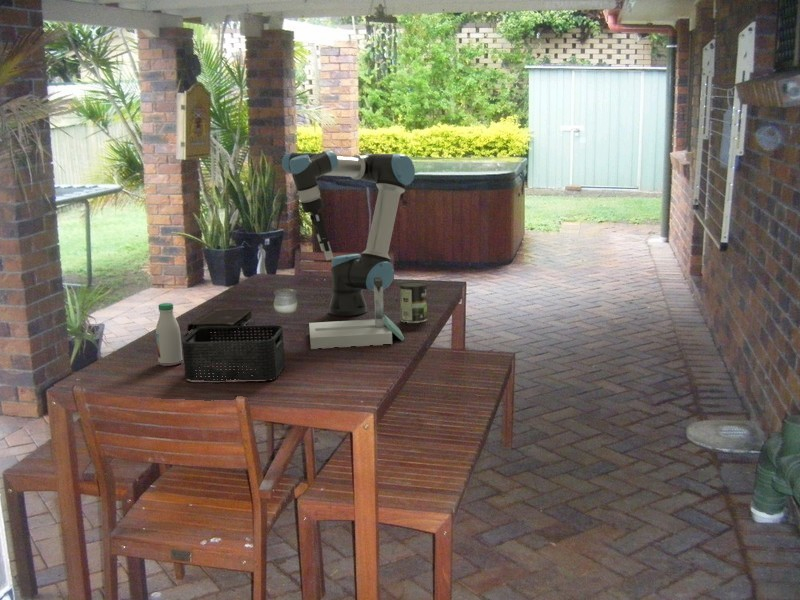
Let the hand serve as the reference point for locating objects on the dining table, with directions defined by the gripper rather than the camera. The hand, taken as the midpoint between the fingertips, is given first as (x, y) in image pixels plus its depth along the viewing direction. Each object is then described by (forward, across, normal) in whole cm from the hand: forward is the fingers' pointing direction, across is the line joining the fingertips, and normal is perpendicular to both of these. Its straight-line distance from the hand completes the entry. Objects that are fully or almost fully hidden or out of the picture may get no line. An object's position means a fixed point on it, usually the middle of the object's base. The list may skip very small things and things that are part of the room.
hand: (327, 254), depth 331 cm
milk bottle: (+11, +30, -61) cm, 69 cm away
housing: (+28, +16, -2) cm, 32 cm away
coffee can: (+36, -4, +24) cm, 44 cm away
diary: (+20, -17, -45) cm, 52 cm away
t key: (+29, +17, +9) cm, 35 cm away
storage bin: (+15, +48, -41) cm, 65 cm away
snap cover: (+28, +17, +13) cm, 36 cm away
